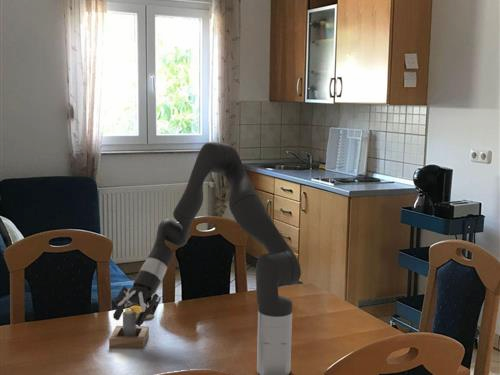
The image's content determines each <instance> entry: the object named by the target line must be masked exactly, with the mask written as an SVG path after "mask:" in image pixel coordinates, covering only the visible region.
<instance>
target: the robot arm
mask: <svg viewBox="0 0 500 375" xmlns="http://www.w3.org/2000/svg"><path fill="white" fill-rule="evenodd" d="M210 173H216V174H221V175H223V177H225V179H226V180H227V183H228V185H229V187H230V192H229V198H228V206H229V210H230V212H231V214H232V216H233V218H234V220H235V222H236V224H237V225H238V227H239V229H241V230H242V231H243V232H244V233H246V234H247V235H249V237H251V238H252V239H254V240H256V241H257V242H258V243H259V244H261V245H262V246H263V247H264V248H265V249H266V251H267V252H268V253H264V254H261V255H260V256H259V257H258V259H257V261H256V265H255V288H256V289H255V293H256V294H255V295H256V296H255V297H256V301H257V306H258V308H257V309H258V311H257V340H256V343H257V345H256V350H257V351H256V372H257V374H259V375H289V374H290V373H291V367H292V366H291V362H292V361H291V360H292V358H291V357H292V356H291V355H292V354H291V353H292V334H293V333H292V329H293V328H292V327H293V325H292V324H293V301H292V300H291V299H290V298H288V297H286V296H282V295H279V288H280V287H281V288H282V287H286V286H287V287H288V286H290V285H294V284H296V283H298V282H299V281H300V279H301V276H302V269H301V265H300V261H299V259H298V257H297V256H296V254H295V253H294V251H293V249H292V248H291V246H290V245H289V244H288V242H287V241H286V239H284V237H283V236H282V234H281V233H280V231H279V229H278V228H277V226H276V225H275V223H274V221H273V220H272V217H271V216H270V214H269V213H268V210H267V208H266V206H265V205H264V203H263V201H262V199H261V197H260V196H259V194H258V193H257V192H256V189H255V188H254V185H253V184H252V181H251V179H250V178H249V175H248V174H247V172H246V170H245V167H244V165H243V162H242V159H241V157H240V155H239V153H238V151H237V150H236V148H235V147H234V146H233V145H230V144H229V143H222V142H217V141H207V142H205V143H203V145H202V147H201V148H200V150H199V152H198V154H197V156H196V160H195V162H194V164H193V168H192V170H191V173H190V176H189V179H188V181H187V185H186V186H185V190H184V192H183V193H182V195H181V197H180V199H179V201H178V202H177V204H176V206H175V208H174V210H173V212H172V216H173V219H174V220H173V219H171V218H164V219H163V220H161V222H159V224H158V228H157V231H156V237H155V241H154V244H153V247H152V249H151V251H150V253H149V255H148V256H147V259H146V260H145V261H144V263H143V264H142V266H141V267H140V270H139V272H138V273H137V275H136V277H135V278H134V281H133V285H132V287H131V288H127V287H126V286H125V285H124V286H123V287H122V288H121V289H120V292H118V294H117V296H116V298H115V300H114V304H115V305H116V306H117V307H116V308H115V311H114V313H113V314H112V317H113V319H114V320H115V321H119V320H120V318H121V316H123V313H124V312H125V309H127V307H128V308H129V307H132V306H141V310H142V312H140V314H139V316H138V317H137V319H136V321H135V324H136V326H143V324H144V322H145V320H146V319H145V318H146V316H147V315H150V314H151V315H154V316H155V313H156V311H157V309H158V306H159V304H160V302H161V296H160V295H159V294H158V293H156V292H157V291H158V289H159V287H160V286H161V283H162V280H163V279H164V277H165V275H166V272H167V270H168V268H169V266H170V263H171V262H172V259H173V258H174V251H173V250H172V249H171V248H170V247H169V245H167V244H166V243H165V242H167V243H168V244H171V245H172V246H174V247H176V248H182V247H184V246H185V245H186V244H187V243H188V240H189V237H190V233H191V232H190V231H191V229H192V224H193V222H194V220H195V218H196V216H198V213H199V211H200V210H201V208H202V205H203V203H204V182H205V180H206V178H207V176H208V175H209V174H210ZM175 220H176V221H175Z"/></svg>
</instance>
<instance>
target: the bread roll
mask: <svg viewBox="0 0 500 375" xmlns="http://www.w3.org/2000/svg"><path fill="white" fill-rule="evenodd" d="M129 308H131V309H134V311H135V312H136V319H137V317H138V316H139V314H140V312H142V310H141V306H138V305H131V306H129ZM154 316H155V314H154V315H151V314H150V315H147V316H146V318H145V320H149V319H152V318H153V317H154Z"/></svg>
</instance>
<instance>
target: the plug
mask: <svg viewBox="0 0 500 375" xmlns="http://www.w3.org/2000/svg"><path fill="white" fill-rule="evenodd" d="M135 321H136V312H135V311H134V309H131V308H130V307H128V308H125V309H124V311H123V313H122V326H123V336H129V337H136V326H137V325H136V324H135Z"/></svg>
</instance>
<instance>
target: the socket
mask: <svg viewBox="0 0 500 375" xmlns="http://www.w3.org/2000/svg"><path fill="white" fill-rule="evenodd" d="M149 328H150V327H149V326H147V325H146V326H145V325H141V326H137V325H136V337H129V336H123V325H116V326H115V327H114V329H113V331H112V333H111V335H110V336H109V338H108V348H109V349H129V350H130V349H131V350H132V349H133V350H134V349H137V350H138V349H139V350H140V349H141V350H144V347H145V345H146V342H147V340H148V337H149V332H150V331H149Z"/></svg>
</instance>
